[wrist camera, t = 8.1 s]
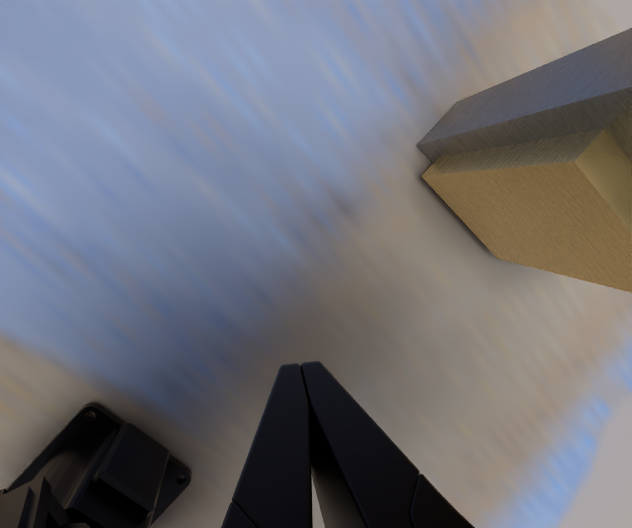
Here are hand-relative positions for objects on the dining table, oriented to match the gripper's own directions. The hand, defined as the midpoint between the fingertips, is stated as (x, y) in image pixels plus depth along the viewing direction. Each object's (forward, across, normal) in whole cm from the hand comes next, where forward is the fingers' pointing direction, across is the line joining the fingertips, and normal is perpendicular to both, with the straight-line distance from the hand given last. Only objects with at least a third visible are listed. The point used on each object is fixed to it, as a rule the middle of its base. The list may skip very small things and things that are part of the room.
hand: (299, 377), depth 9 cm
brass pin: (+13, -13, -1) cm, 19 cm away
